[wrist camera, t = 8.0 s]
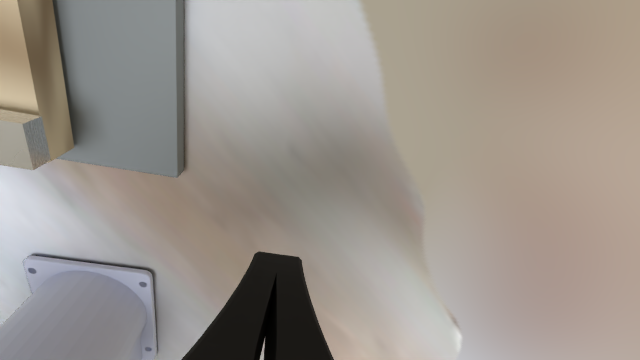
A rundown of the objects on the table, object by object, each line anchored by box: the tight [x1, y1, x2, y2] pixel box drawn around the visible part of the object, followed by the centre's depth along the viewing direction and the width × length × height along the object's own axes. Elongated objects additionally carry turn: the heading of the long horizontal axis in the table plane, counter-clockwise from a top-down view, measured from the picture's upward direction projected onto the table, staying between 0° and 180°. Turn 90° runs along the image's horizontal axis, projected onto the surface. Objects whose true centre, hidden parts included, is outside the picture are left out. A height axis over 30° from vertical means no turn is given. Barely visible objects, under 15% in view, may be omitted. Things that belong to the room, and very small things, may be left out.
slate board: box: [52, 0, 184, 178], centre depth 14 cm, size 14×11×1 cm
